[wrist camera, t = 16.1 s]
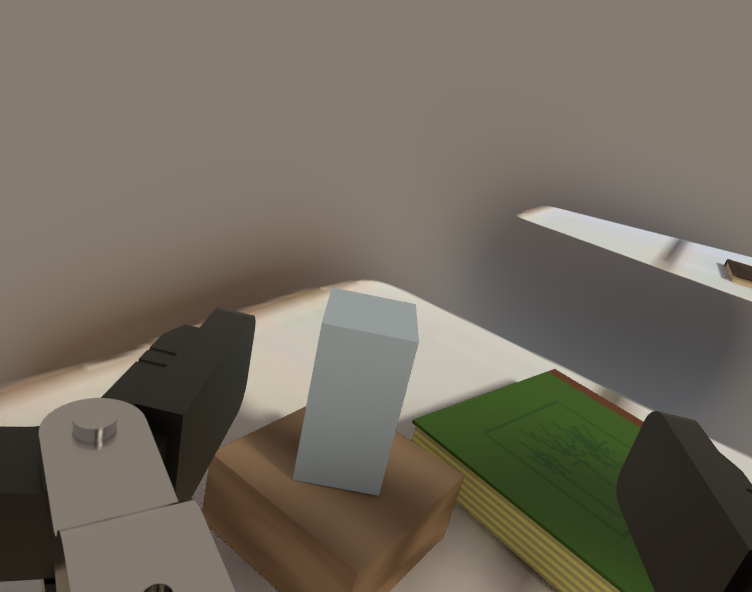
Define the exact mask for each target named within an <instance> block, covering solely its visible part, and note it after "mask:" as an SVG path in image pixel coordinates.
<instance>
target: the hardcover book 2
mask: <svg viewBox="0 0 752 592" xmlns="http://www.w3.org/2000/svg"><path fill="white" fill-rule="evenodd" d="M724 266H726V269H727V272H728V274H729V277H730V279H731V282H734V283H737V284H740V285H743V286H746V287H749V288H752V266H749V265H746V264H742V263H739V262H736V261H733V260H730V259H727V261H726V263H725V265H724Z"/></svg>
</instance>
